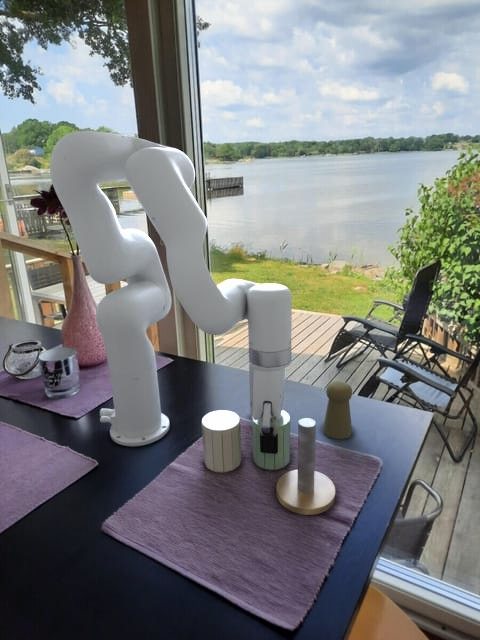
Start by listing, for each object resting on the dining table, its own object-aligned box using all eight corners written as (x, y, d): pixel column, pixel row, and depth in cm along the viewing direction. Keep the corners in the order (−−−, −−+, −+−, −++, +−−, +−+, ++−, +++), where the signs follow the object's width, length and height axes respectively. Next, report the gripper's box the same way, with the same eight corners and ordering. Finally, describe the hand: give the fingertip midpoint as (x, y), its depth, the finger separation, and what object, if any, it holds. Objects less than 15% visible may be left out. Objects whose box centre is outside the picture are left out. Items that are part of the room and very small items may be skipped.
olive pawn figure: (352, 440, 90) (355, 392, 86) (322, 437, 91) (324, 390, 87) (351, 424, 95) (354, 378, 92) (323, 421, 96) (324, 376, 93)
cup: (200, 470, 82) (197, 428, 79) (209, 448, 89) (206, 408, 86) (237, 473, 81) (235, 431, 78) (243, 450, 87) (242, 411, 85)
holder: (273, 511, 72) (273, 437, 67) (279, 472, 81) (278, 404, 76) (336, 518, 70) (340, 442, 65) (334, 476, 79) (337, 408, 75)
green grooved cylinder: (251, 468, 82) (249, 426, 79) (256, 446, 89) (255, 406, 86) (288, 471, 81) (288, 428, 78) (290, 448, 88) (291, 408, 85)
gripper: (255, 335, 87) (257, 415, 92) (240, 374, 71) (244, 467, 76) (294, 336, 85) (293, 417, 91) (288, 376, 69) (288, 471, 75)
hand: (271, 439), depth 84 cm, fingers closed on green grooved cylinder, 7 cm apart
